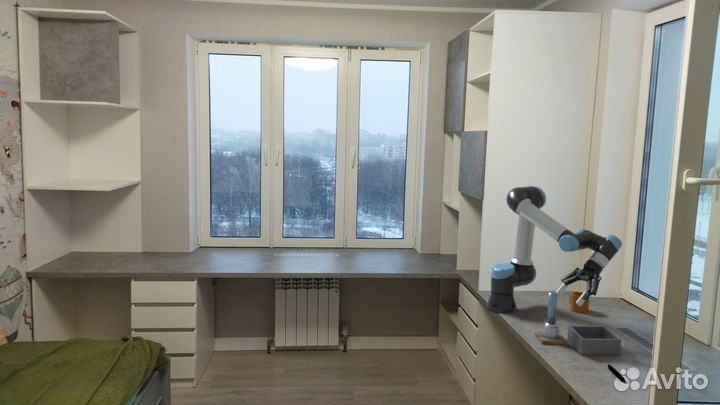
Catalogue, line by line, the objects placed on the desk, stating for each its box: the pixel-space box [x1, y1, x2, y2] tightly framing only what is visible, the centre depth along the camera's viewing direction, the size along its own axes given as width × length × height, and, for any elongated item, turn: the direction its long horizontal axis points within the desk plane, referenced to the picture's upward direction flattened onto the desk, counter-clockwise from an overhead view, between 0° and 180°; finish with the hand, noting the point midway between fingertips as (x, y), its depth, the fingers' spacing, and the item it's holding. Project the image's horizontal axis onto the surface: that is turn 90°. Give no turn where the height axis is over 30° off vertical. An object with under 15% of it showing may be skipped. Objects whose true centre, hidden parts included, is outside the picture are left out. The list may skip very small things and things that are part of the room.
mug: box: [569, 291, 590, 314], centre depth 274 cm, size 9×12×9 cm
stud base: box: [534, 331, 569, 345], centre depth 233 cm, size 11×11×6 cm
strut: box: [543, 291, 560, 337], centre depth 232 cm, size 6×6×19 cm
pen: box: [607, 363, 626, 383], centre depth 199 cm, size 2×14×2 cm, turn 179°
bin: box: [566, 325, 622, 357], centre depth 224 cm, size 16×16×7 cm
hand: (567, 300), depth 233 cm, fingers open, 13 cm apart
